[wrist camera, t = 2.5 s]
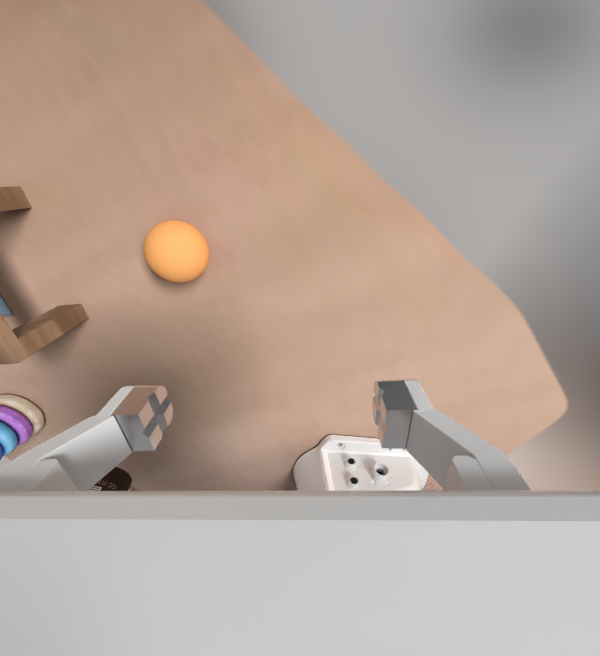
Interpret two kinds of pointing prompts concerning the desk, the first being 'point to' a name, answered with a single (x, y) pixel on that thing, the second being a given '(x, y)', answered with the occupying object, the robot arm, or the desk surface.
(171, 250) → the ball
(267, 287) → the desk surface
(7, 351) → the bridge
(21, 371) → the desk surface
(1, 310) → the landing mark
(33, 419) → the stacking toy
